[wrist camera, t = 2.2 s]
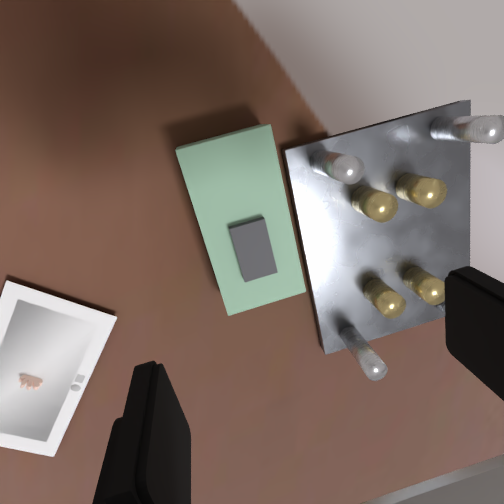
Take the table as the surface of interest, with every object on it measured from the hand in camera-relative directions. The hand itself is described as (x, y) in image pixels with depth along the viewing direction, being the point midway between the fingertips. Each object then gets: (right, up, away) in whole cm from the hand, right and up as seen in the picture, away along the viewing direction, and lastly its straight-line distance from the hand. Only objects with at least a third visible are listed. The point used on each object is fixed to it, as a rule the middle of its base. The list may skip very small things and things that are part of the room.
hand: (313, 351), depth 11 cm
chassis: (+9, +4, +18) cm, 20 cm away
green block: (-3, +6, +15) cm, 17 cm away
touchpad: (-19, -6, +17) cm, 27 cm away
